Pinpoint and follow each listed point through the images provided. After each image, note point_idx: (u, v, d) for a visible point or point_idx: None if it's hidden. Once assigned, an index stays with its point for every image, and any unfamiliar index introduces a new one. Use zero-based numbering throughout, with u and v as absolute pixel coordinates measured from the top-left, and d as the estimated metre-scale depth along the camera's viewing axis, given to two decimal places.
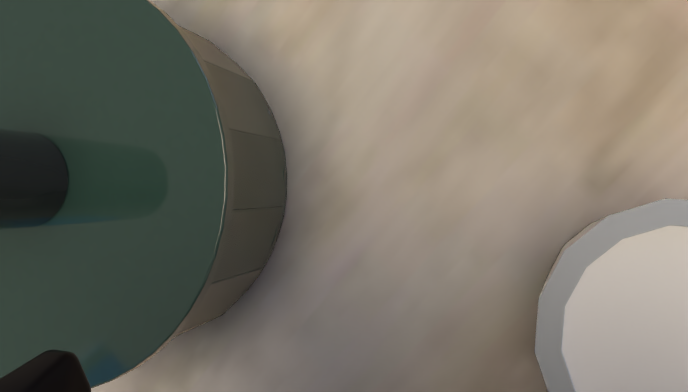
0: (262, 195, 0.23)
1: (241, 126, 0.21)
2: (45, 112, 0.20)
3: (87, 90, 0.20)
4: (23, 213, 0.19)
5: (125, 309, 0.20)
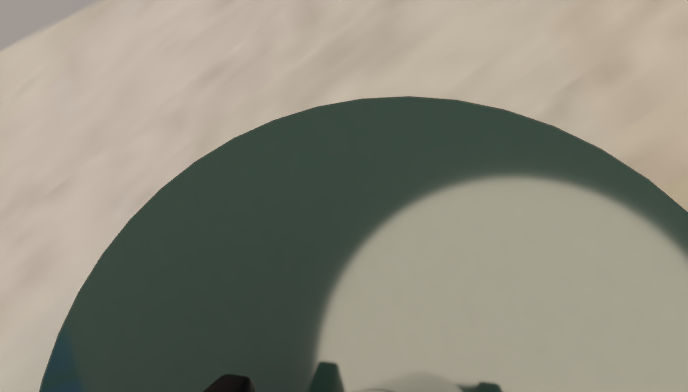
0: None
1: None
2: (458, 380, 0.11)
3: (563, 384, 0.10)
4: None
5: None
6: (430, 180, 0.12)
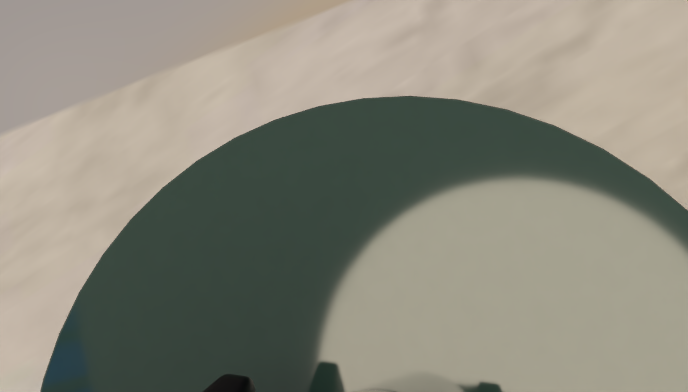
0: None
1: None
2: (460, 380, 0.11)
3: (565, 385, 0.10)
4: None
5: None
6: (431, 180, 0.12)
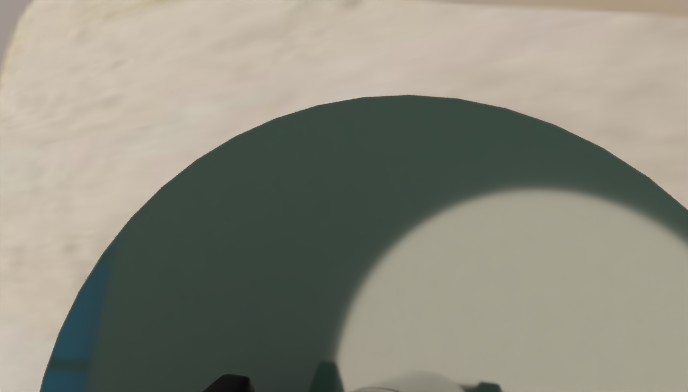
0: None
1: None
2: (459, 379, 0.11)
3: (564, 383, 0.10)
4: None
5: None
6: (431, 179, 0.12)
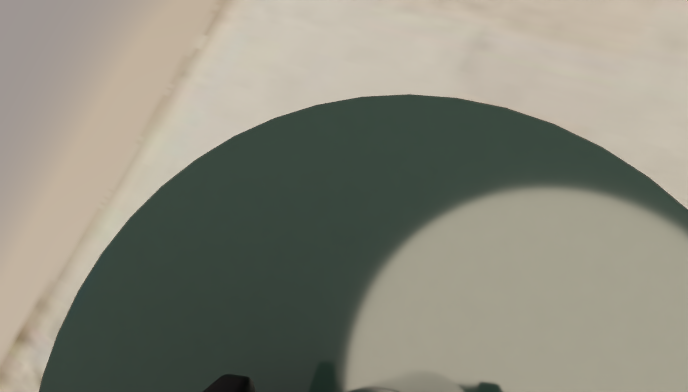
0: None
1: None
2: (459, 379, 0.11)
3: (563, 383, 0.10)
4: None
5: None
6: (430, 179, 0.12)
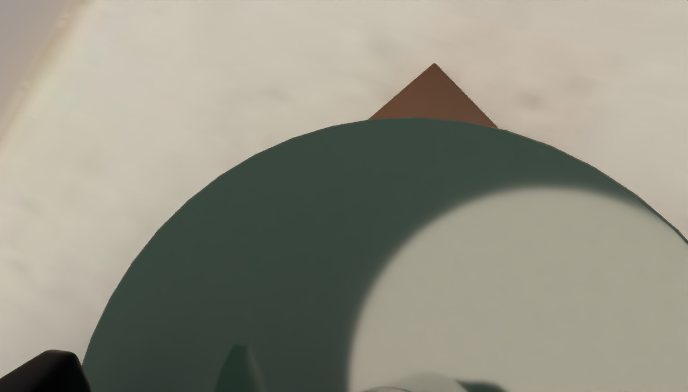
0: None
1: None
2: (463, 379, 0.12)
3: (559, 383, 0.11)
4: None
5: None
6: (437, 196, 0.13)
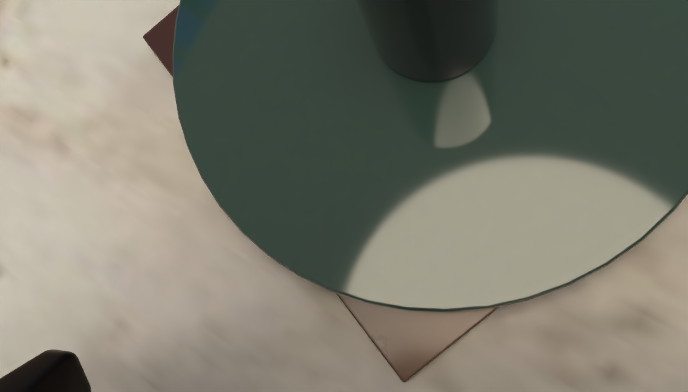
0: None
1: None
2: None
3: None
4: (457, 50, 0.14)
5: (509, 229, 0.14)
6: None
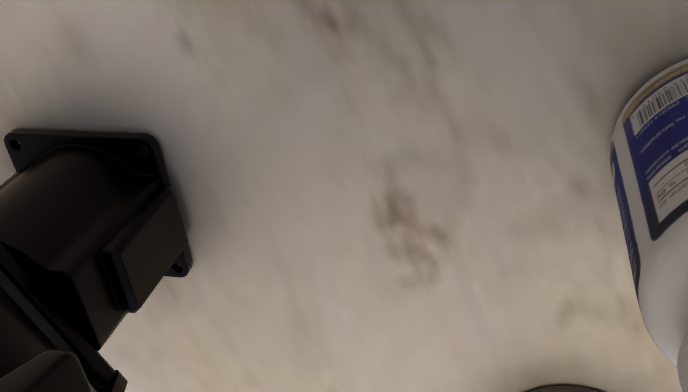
0: None
1: None
2: None
3: None
4: None
5: None
6: None
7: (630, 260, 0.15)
